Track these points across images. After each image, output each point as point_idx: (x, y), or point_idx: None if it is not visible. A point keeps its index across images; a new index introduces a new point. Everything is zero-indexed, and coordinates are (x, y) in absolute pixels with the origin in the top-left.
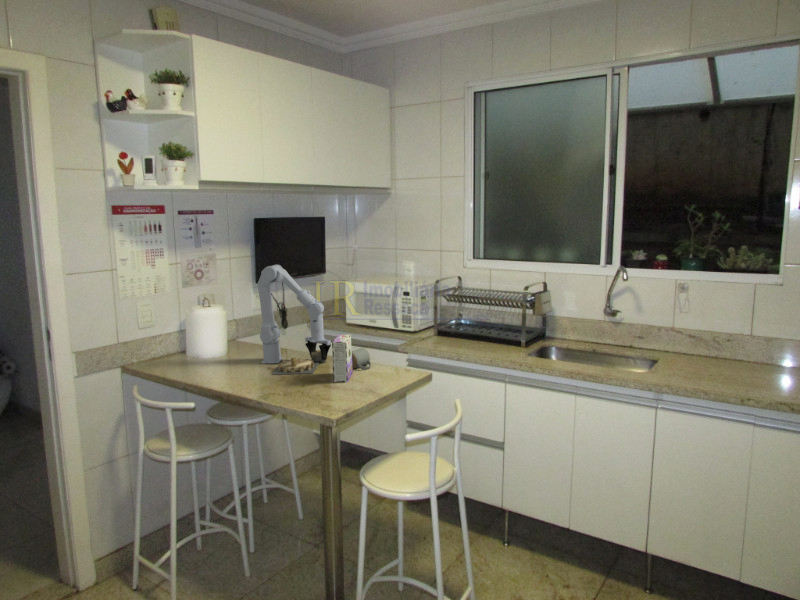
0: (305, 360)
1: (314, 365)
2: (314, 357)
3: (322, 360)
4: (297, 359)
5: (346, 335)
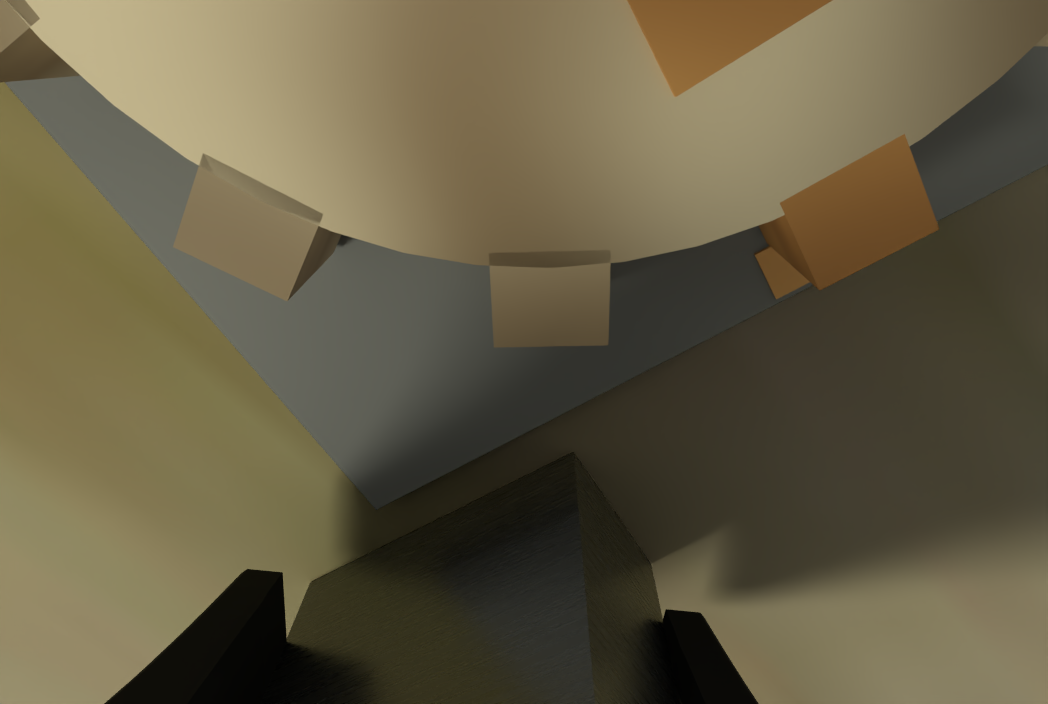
0: (490, 174)
1: None
2: (499, 585)
3: (340, 601)
4: (909, 155)
5: None
